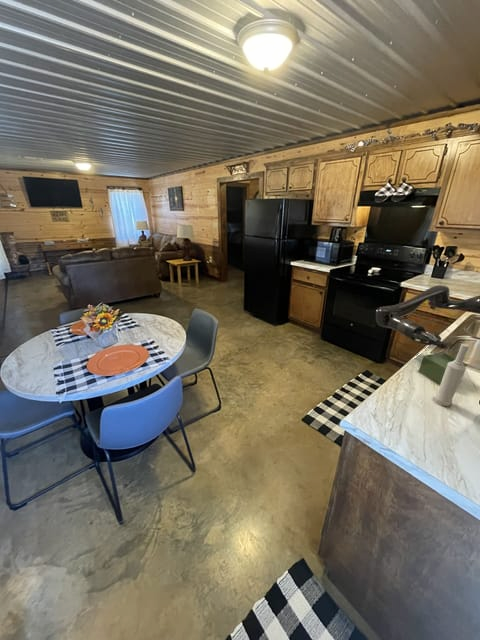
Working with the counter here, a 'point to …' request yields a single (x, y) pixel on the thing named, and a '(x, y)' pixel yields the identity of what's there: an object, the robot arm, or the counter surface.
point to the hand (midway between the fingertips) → (445, 346)
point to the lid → (441, 359)
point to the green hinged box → (431, 371)
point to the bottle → (451, 378)
